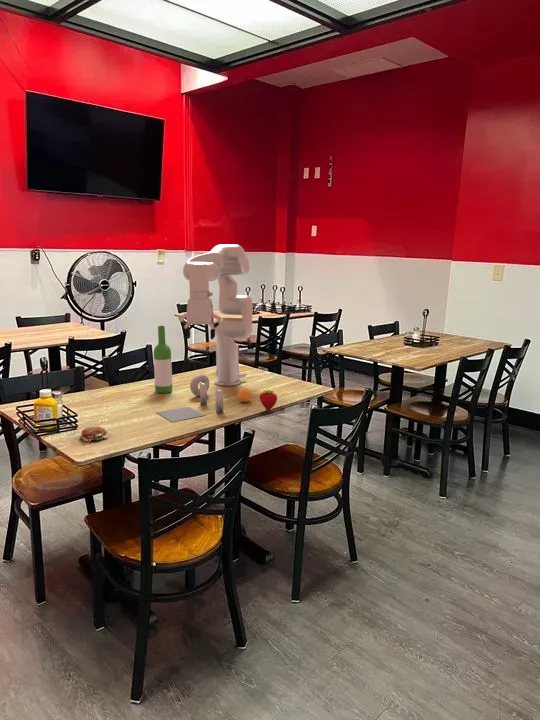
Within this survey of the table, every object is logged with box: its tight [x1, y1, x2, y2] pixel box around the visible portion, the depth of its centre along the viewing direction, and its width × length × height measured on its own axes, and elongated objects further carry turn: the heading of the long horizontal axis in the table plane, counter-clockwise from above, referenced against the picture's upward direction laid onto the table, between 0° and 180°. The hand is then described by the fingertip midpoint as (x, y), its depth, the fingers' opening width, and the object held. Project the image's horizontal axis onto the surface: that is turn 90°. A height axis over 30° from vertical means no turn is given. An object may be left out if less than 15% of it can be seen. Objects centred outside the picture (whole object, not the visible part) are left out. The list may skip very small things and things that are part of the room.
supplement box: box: [215, 343, 240, 373], centre depth 280 cm, size 9×9×15 cm
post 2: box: [215, 389, 224, 414], centre depth 211 cm, size 3×3×9 cm
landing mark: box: [156, 406, 206, 423], centre depth 210 cm, size 14×14×1 cm
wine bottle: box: [153, 325, 173, 394], centre depth 240 cm, size 8×8×30 cm
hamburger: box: [79, 426, 109, 442], centre depth 182 cm, size 14×14×6 cm
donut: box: [189, 373, 210, 397], centre depth 235 cm, size 10×3×10 cm, turn 138°
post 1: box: [199, 382, 208, 406], centre depth 222 cm, size 3×3×9 cm
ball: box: [237, 387, 253, 403], centre depth 226 cm, size 6×6×6 cm
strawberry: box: [259, 389, 278, 412], centre depth 214 cm, size 6×8×10 cm
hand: (200, 338), depth 212 cm, fingers open, 9 cm apart
